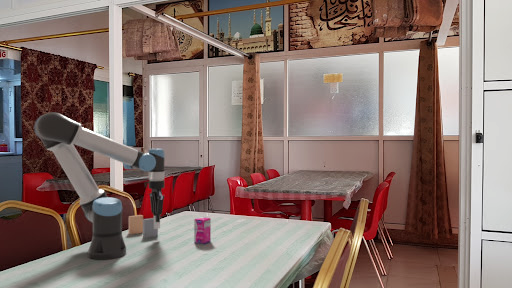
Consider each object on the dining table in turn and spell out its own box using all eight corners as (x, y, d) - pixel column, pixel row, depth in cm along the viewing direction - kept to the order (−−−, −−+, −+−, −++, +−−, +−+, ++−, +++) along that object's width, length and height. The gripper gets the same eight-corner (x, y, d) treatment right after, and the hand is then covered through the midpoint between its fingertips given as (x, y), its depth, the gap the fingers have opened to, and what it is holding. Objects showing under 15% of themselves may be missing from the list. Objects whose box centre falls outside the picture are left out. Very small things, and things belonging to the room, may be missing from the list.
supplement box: (193, 243, 187) (193, 218, 187) (201, 240, 192) (201, 216, 192) (203, 244, 184) (203, 220, 184) (211, 241, 190) (211, 217, 189)
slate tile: (144, 238, 196) (144, 220, 196) (142, 237, 198) (142, 219, 198) (157, 236, 200) (157, 218, 200) (156, 235, 202) (156, 217, 202)
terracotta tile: (129, 234, 204) (129, 216, 204) (128, 233, 205) (128, 216, 205) (143, 232, 208) (143, 215, 208) (141, 231, 210) (141, 214, 210)
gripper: (169, 180, 190) (169, 229, 190) (158, 178, 200) (158, 225, 201) (154, 181, 186) (154, 231, 186) (144, 179, 196) (144, 227, 196)
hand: (156, 228), depth 193 cm, fingers closed
